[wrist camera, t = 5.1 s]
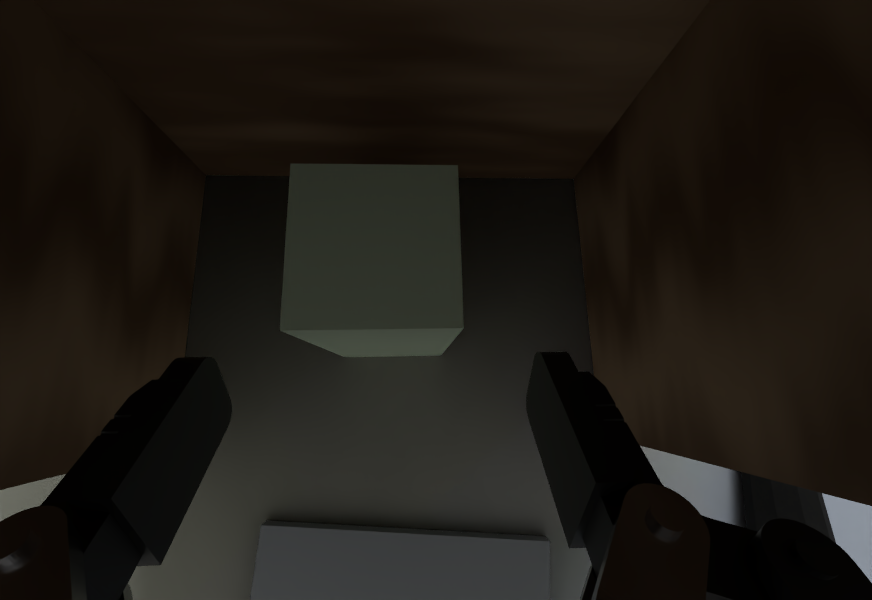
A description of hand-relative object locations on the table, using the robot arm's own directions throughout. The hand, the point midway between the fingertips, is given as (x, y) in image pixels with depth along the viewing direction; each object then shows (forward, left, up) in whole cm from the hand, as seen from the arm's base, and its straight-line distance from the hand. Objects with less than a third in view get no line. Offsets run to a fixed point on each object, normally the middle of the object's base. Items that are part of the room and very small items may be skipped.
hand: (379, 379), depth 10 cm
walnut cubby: (0, -4, -8) cm, 9 cm away
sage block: (0, -3, -8) cm, 9 cm away
